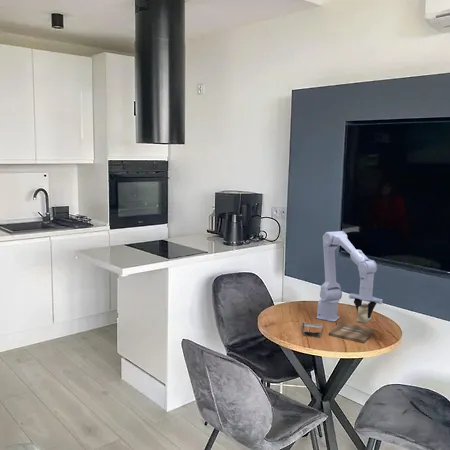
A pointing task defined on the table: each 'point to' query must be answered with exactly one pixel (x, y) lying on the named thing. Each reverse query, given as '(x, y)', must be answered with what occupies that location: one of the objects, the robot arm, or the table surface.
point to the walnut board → (351, 332)
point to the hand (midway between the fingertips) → (364, 316)
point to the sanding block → (363, 314)
